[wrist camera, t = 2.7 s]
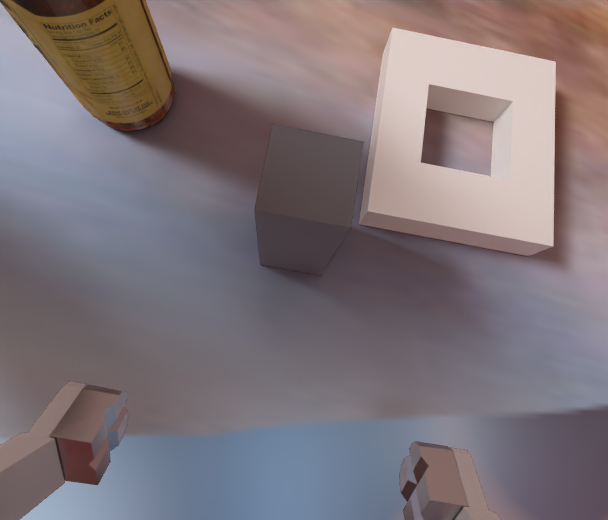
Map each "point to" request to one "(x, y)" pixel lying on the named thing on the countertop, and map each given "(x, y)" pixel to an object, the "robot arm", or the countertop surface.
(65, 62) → the sauce bottle
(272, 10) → the countertop surface
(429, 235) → the socket
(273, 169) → the plug
